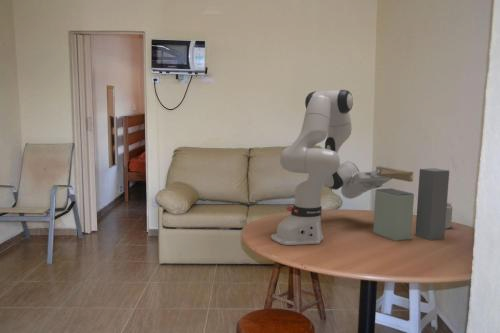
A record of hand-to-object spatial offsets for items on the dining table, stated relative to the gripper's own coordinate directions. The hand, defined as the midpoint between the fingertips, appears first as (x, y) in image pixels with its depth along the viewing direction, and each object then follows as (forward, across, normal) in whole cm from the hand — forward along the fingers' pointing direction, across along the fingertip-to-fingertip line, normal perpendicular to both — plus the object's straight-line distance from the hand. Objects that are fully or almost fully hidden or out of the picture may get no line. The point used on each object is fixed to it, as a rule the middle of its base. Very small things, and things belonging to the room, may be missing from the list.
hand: (383, 170), depth 201 cm
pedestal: (-1, +15, +32) cm, 35 cm away
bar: (+5, 0, +6) cm, 7 cm away
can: (-10, +34, +28) cm, 45 cm away
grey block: (-7, 0, +28) cm, 29 cm away
